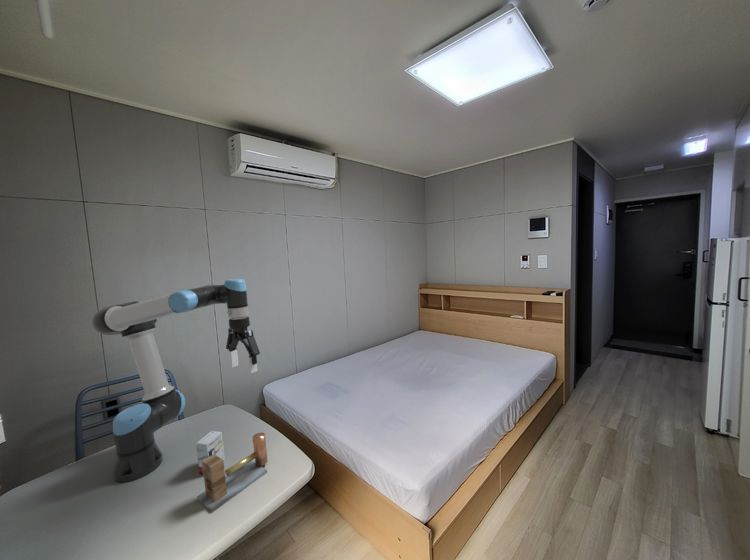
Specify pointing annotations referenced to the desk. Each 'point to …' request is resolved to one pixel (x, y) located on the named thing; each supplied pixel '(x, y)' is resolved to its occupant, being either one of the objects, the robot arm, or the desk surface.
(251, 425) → the desk surface
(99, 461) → the desk surface
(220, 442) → the ink box
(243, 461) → the copper-capped brass rod
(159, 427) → the robot arm
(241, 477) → the eye post
